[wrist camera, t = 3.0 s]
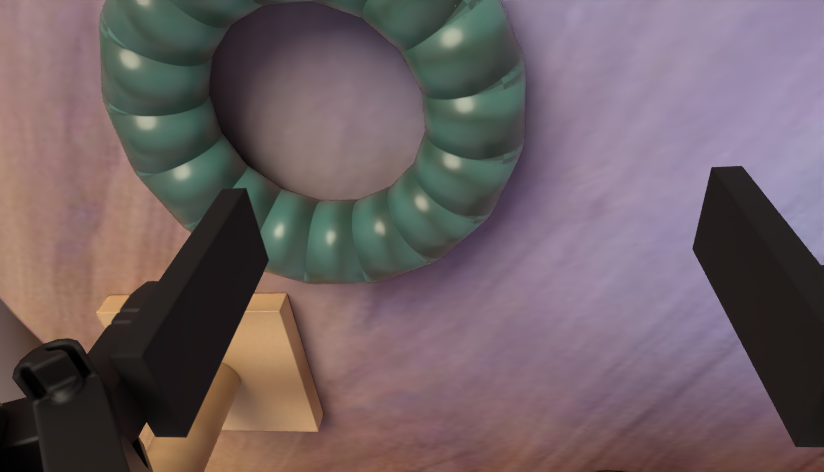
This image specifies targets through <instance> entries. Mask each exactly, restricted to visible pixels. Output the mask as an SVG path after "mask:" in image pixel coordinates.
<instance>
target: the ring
mask: <svg viewBox="0 0 824 472" xmlns="http://www.w3.org/2000/svg"><path fill="white" fill-rule="evenodd" d="M303 1H313V2H316V3H319V4H322V5H325V6H328V7H331V8H334V9H337V10H340V11H343V12H346V13H349V14H352V15H355V16H358V17H360V18H362V19H363V20H364V21H365V22H366V23H368V24H369V25H370V26H371V27H372V28H374V29H375V30H376V31H377V32H378V33H379V34H381V35H382V36H383V37H384V38H385V39H387V40H388V41H389V42H390V43H391V44H392V45H394V46H395V47H396V48H397V49H398V50H400V52H401V54H402V56H403V58H404V59H405V61H406V63H407V65H408V67H409V69H410V71H411V73H412V74H413V76H414V78H415V80H416V82H417V84H418V86H419V87H420V89H421V91H422V99H423V110H424V121H425V133H424V136H423V139H422V142H421V145H420V147H419V150H418V153H417V156H416V159H415V162H414V163H413V164H412V165H411V166H410V167H409V168H408V169H407V170H406V171H405V172H404V173H403V174H402V175H401V177H400V178H399V179H398V180H397V181H396V182H395V183H394V184H393V185H392V186H390V187H388V188H385V189H383V190H381V191H378V192H376V193H373V194H371V195H369V196H366V197H364V198H362V199H358V200H329V201H320V200H317V199H314V198H310V197H307V196H304V195H300V194H297V193H294V192H290V191H287V190H284V189H281V188H280V187H278V186H277V185H275V184H274V183H272V182H271V181H270V180H268V179H267V178H265V177H264V176H262V175H261V174H259V173H258V172H256V171H255V170H254V169H252V168H251V167H249V166H248V165H247V164H246V163H245V162H244V161H243V159H242V158H241V157H240V155H239V154H238V153H237V151H236V150H235V149H234V148H233V146H232V145H231V144H230V142H229V141H228V140H227V139H226V137H225V136H224V135H223V133H222V132H221V129H220V126H219V123H218V120H217V117H216V114H215V111H214V108H213V105H212V102H211V98H210V95H209V85H210V73H211V62H212V56H213V54H214V52H215V51H216V49H217V47H218V46H219V44H220V42H221V41H222V39H223V37H224V36H225V34H226V32H227V31H228V29H229V27H230V26H231V25H232V24H233V23H235V22H237V21H238V20H240V19H242V18H243V17H245V16H247V15H248V14H250V13H252V12H253V11H255V10H257V9H258V8H260V7H262V6H263V5H267V4H279V3H291V2H303ZM99 33H100V58H101V84H102V96H103V102H104V104H105V107H106V110H107V112H108V115H109V117H110V119H111V121H112V124H113V126H114V128H115V130H116V133H117V135H118V137H119V139H120V142H121V144H122V146H123V148H124V151H125V153H126V155H127V157H128V160H129V162H130V164H131V166H132V168H133V170H134V172H135V173H136V175H137V176H138V177H139V178H140V180H141V181H142V182H143V183H144V184H145V185H146V186H147V187H148V189H149V190H150V191H151V192H152V193H153V194H154V195H155V196H156V197H157V199H158V200H159V201H160V202H161V203H162V204H163V205H164V206H165V207H166V209H167V210H168V211H169V212H170V213H171V214H172V215H173V216H174V217H175V219H176V220H177V221H178V222H179V223H180V224H181V225H182V226H183V227H184V228H185V229H186V230H188V231H189V232H191V233H192V232H193V231H194V229H195V228H196V226H197V225H198V223H199V222H200V220H201V219H202V217H203V216H204V215H205V213H206V212H207V210H208V209H209V207H210V206H211V204H212V203H213V201H214V200H215V198H216V197H217V196H218V194H219V193H220V191H221V190H222V189H230V188H247V191H248V194H249V198H250V201H251V204H252V207H253V210H254V214H255V217H256V220H257V223H258V226H259V230H260V233H261V236H262V239H263V242H264V246H265V249H266V252H267V255H268V258H269V262H268V264H267V266H266V268H265V270H264V271H265V272H268V273H272V274H276V275H279V276H283V277H286V278H290V279H293V280H297V281H300V282H304V283H309V284H355V283H376V282H380V281H384V280H386V279H389V278H392V277H395V276H398V275H401V274H403V273H406V272H409V271H412V270H415V269H417V268H420V267H423V266H426V265H429V264H432V263H434V262H436V261H438V260H439V259H441V258H442V257H444V256H445V255H446V254H447V253H448V252H450V251H451V250H452V249H453V248H454V247H455V246H457V245H458V244H459V243H460V242H461V241H462V240H464V239H465V238H466V237H467V236H468V235H469V234H470V233H472V232H473V231H474V230H475V229H476V228H477V227H479V226H480V225H481V224H482V223H483V222H484V221H485V220H486V219H487V218H488V217H489V216H490V215H491V214H492V212H493V210H494V209H495V207H496V205H497V203H498V201H499V199H500V197H501V195H502V193H503V190H504V188H505V186H506V184H507V182H508V180H509V178H510V176H511V174H512V172H513V170H514V168H515V165H516V163H517V161H518V159H519V157H520V155H521V152H522V149H523V144H524V137H525V90H526V68H525V60H524V57H523V54H522V51H521V48H520V46H519V44H518V41H517V39H516V37H515V34H514V32H513V29H512V27H511V25H510V22H509V20H508V17H507V15H506V13H505V10H504V8H503V6H502V3H501V1H500V0H106V1H105V3H104V5H103V8H102V11H101V14H100V26H99Z"/></svg>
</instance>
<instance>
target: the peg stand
mask: <svg viewBox="0 0 824 472" xmlns="http://www.w3.org/2000/svg"><path fill="white" fill-rule="evenodd" d="M129 296H130V295H111V296H109V297H108V298H107V299H106V300H105V302H104V303H103V304H102V306H101V307H100V308H99V310H98V311H97V312H96V314H97V315H98V317H99V319H100V321H101V322H102V324H103V326H104V327H105V329H106V328H107V326H108V325H111V321H112V319H113V318H114V317H115V315H116V314H117V313H119V312H120V308H121V307H122V306H123V304H124V303H125V302H126V300H127V299H128V297H129ZM322 416H323V411H322V408H321V405H320V401H319V398H318V395H317V391H316V388H315V385H314V382H313V378H312V375H311V372H310V369H309V365H308V362H307V359H306V355H305V352H304V349H303V346H302V342H301V339H300V336H299V333H298V329H297V326H296V323H295V319H294V316H293V313H292V310H291V306H290V303H289V300H288V297H287V294H286V293H270V294H253V296H252V298H251V300H250V302H249V305H248V307H247V309H246V311H245V313H244V315H243V317H242V320H241V322H240V324H239V326H238V328H237V330H236V333H235V335H234V337H233V339H232V341H231V343H230V345H229V348H228V350H227V352H226V354H225V356H224V358H223V360H222V363H221V365H220V367H219V369H218V371H217V373H216V376H215V378H214V380H213V382H212V384H211V386H210V388H209V391H208V393H207V395H206V397H205V399H204V401H203V404H202V406H201V408H200V410H199V412H198V414H197V416H196V419H195V421H194V423H193V425H192V427H191V429H190V431H189V434H188V436H187V438H176V437H155V435H154V437H153V439H152V441H151V443H150V445H149V447H148V448H147V450H146V453H147V455H148V458H149V461H150V464H151V467H152V469H153V472H204V470H205V468H206V465H207V463H208V461H209V458H210V456H211V453H212V451H213V449H214V446H215V444H216V441H217V439H218V437H219V434H220V432H221V430H253V431H301V432H318V431H319V427H320V424H321V420H322Z"/></svg>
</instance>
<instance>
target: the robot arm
mask: <svg viewBox="0 0 824 472" xmlns="http://www.w3.org/2000/svg"><path fill="white" fill-rule="evenodd" d="M693 251H694V253H695V255H696V257H697V259H698V261H699V262H700V264H701V266H702V268H703V270H704V272H705V274H706V276H707V278H708V280H709V282H710V284H711V285H712V287H713V289H714V291H715V293H716V295H717V297H718V299H719V301H720V303H721V305H722V307H723V308H724V310H725V312H726V314H727V316H728V318H729V320H730V322H731V324H732V326H733V328H734V330H735V331H736V333H737V335H738V337H739V339H740V341H741V343H742V345H743V347H744V349H745V351H746V352H747V354H748V356H749V358H750V360H751V362H752V364H753V366H754V368H755V370H756V372H757V374H758V375H759V377H760V379H761V381H762V383H763V385H764V387H765V389H766V391H767V393H768V395H769V397H770V398H771V400H772V402H773V404H774V406H775V408H776V410H777V412H778V414H779V416H780V418H781V420H782V421H783V423H784V425H785V427H786V429H787V431H788V433H789V435H790V437H791V439H792V441H793V442H794V444H795V446H796V447H824V265H820V264H819V262H818V261H817V260H816V259H815V257H814V256H813V255H812V254H811V252H810V251H809V250H808V248H807V247H806V246H805V245H804V243H803V242H802V241H801V240H800V238H799V237H798V236H797V235H796V233H795V232H794V231H793V230H792V228H791V227H790V226H789V225H788V223H787V222H786V221H785V220H784V218H783V217H782V216H781V215H780V213H779V212H778V211H777V209H776V208H775V207H774V206H773V204H772V203H771V202H770V201H769V199H768V198H767V197H766V196H765V194H764V193H763V192H762V191H761V189H760V188H759V187H758V186H757V184H756V183H755V182H754V181H753V179H752V178H751V177H750V176H749V174H748V173H747V172H746V170H745V169H744V168H743V167H742V166H732V167H712V168H711V172H710V177H709V181H708V185H707V189H706V194H705V198H704V202H703V206H702V211H701V215H700V219H699V223H698V227H697V232H696V236H695V240H694V244H693ZM268 262H269V258H268V255H267V252H266V249H265V246H264V242H263V239H262V236H261V233H260V230H259V226H258V223H257V220H256V217H255V214H254V210H253V207H252V204H251V201H250V198H249V194H248V191H247V188H230V189H222V190H221V191H220V193H219V194H218V196H217V197H216V198H215V200H214V201H213V203H212V204H211V206H210V207H209V209H208V210H207V212H206V213H205V215H204V216H203V217H202V219H201V220H200V222H199V223H198V225H197V226H196V228H195V229H194V231H193V232H192V233H191V235H190V236H189V238H188V239H187V241H186V242H185V244H184V245H183V247H182V248H181V250H180V251H179V252H178V254H177V255H176V257H175V258H174V260H173V261H172V263H171V264H170V266H169V267H168V268H167V270H166V271H165V273H164V274H163V276H162V277H161V279H160V280H159V281H151V282H146V283H145V284H143V285H142V286H141V287H140V288H138V289H137V290H136V291H135V292H133V293H132V294H131V295H130V296H129V297H128V299H127V300H126V302H125V303H124V304H123V306H122V307H121V308H120V312H119V313H117V314H116V315H115V317H114V318H113V319H112V321H111V325H108V326H107V328H106V329H105V330H104V332H103V333H102V335H101V336H100V337H99V339H98V340H97V341H96V343H95V344H94V346H93V347H92V348H91V350H90V351H89V352H88V354H87V353H86V352H85V350H84V349H83V347H82V346H81V344H80V343H79V342H78V341H77V340H73V339H69V338H68V339H57V340H54V341H51V342H48V343H45V344H43V345H41V346H39V347H38V348H36V349H34V350H32V351H31V352H30V353H28V354H27V355H26V356H25V357H24V358H23V359H21V360H20V362H19V363H18V365H17V366H16V367H15V369H14V372H13V377H12V378H13V380H14V381H15V382H16V384H17V385H18V386H19V388H20V389H21V390H22V391H23V393H24V394H25V395H26V398H22V399H18V400H14V401H10V402H6V403H3V404H1V403H0V472H153V469H152V467H151V464H150V461H149V458H148V455H147V453H146V450H145V447H144V444H143V443H142V441H141V440H140V438H139V435H140V433H141V431H142V429H143V427H144V425H145V424H146V422H147V423H148V425H149V427H150V428H151V430H152V432H153V433H154V435H155V437H176V438H187V436H188V434H189V431H190V429H191V427H192V425H193V423H194V421H195V419H196V416H197V414H198V412H199V410H200V408H201V406H202V404H203V401H204V399H205V397H206V395H207V393H208V391H209V388H210V386H211V384H212V382H213V380H214V378H215V376H216V373H217V371H218V369H219V367H220V365H221V363H222V360H223V358H224V356H225V354H226V352H227V350H228V348H229V345H230V343H231V341H232V339H233V337H234V335H235V333H236V330H237V328H238V326H239V324H240V322H241V320H242V317H243V315H244V313H245V311H246V309H247V307H248V305H249V302H250V300H251V298H252V296H253V294H254V292H255V289H256V287H257V285H258V283H259V281H260V279H261V277H262V274H263V272H264V270H265V268H266V266H267V264H268Z"/></svg>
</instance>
